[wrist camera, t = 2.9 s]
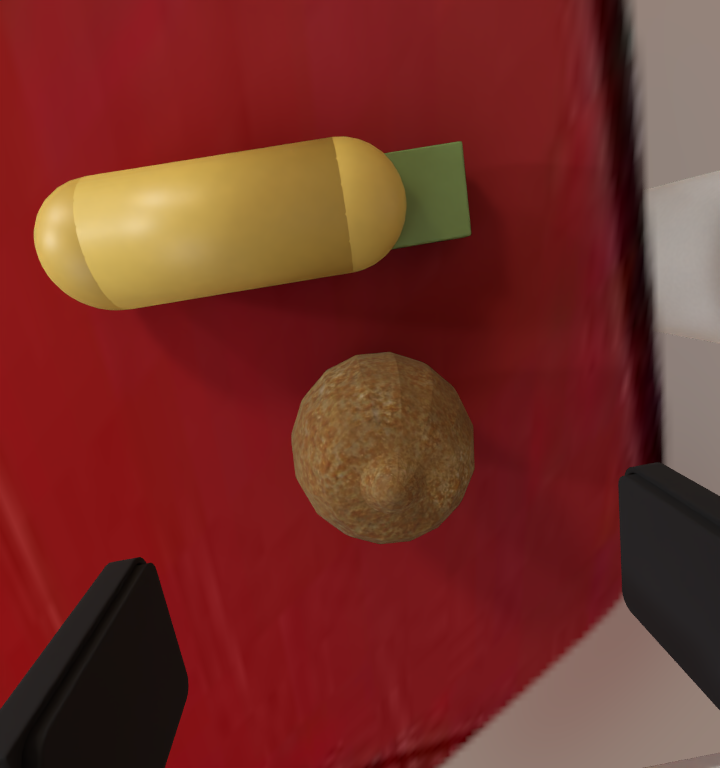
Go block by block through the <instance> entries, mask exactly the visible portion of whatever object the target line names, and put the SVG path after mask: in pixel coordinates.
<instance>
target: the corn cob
mask: <svg viewBox="0 0 720 768" xmlns="http://www.w3.org/2000/svg"><path fill="white" fill-rule="evenodd" d="M470 235H471V226H470V216H469V206H468V196H467V186H466V176H465V166H464V156H463V147H462V142H461V141H459V142H452V143H446V144H440V145H434V146H427V147H421V148H415V149H409V150H402V151H396V152H390V153H383V152H382V151H380V150H379V149H377V148H376V147H374V146H373V145H371V144H369V143H367V142H365V141H362V140H360V139H356V138H351V137H329V138H323V139H317V140H310V141H304V142H298V143H291V144H285V145H279V146H273V147H266V148H260V149H254V150H247V151H241V152H235V153H229V154H222V155H216V156H210V157H204V158H197V159H191V160H185V161H178V162H172V163H166V164H160V165H153V166H147V167H141V168H135V169H128V170H122V171H116V172H109V173H103V174H97V175H91V176H85V177H82V178H78V179H75V180H72V181H69V182H67V183H65V184H63V185H61V186H60V187H58V188H57V189H56V190H55V191H54V192H53V193H52V194H51V195H50V196H49V197H48V198H47V199H46V200H45V201H44V203H43V205H42V206H41V208H40V210H39V212H38V214H37V218H36V223H35V228H34V242H35V247H36V251H37V254H38V257H39V260H40V262H41V264H42V266H43V268H44V270H45V272H46V273H47V275H48V276H49V277H50V279H51V280H52V281H53V282H54V283H55V284H56V285H57V286H58V287H59V288H60V289H61V290H62V291H63V292H65V293H66V294H68V295H69V296H71V297H72V298H74V299H76V300H77V301H79V302H81V303H84V304H86V305H89V306H92V307H95V308H99V309H107V310H128V309H134V308H141V307H147V306H153V305H159V304H165V303H171V302H177V301H183V300H189V299H195V298H201V297H207V296H213V295H220V294H226V293H232V292H238V291H244V290H250V289H256V288H262V287H268V286H274V285H280V284H286V283H292V282H298V281H305V280H311V279H317V278H323V277H329V276H335V275H341V274H347V273H353V272H357V271H360V270H364V269H366V268H368V267H370V266H372V265H374V264H376V263H377V262H378V261H380V260H381V259H382V258H384V257H385V256H386V255H387V253H388V252H389V251H390V250H391V249H397V248H403V247H409V246H415V245H421V244H428V243H434V242H440V241H446V240H452V239H458V238H463V237H468V236H470Z"/></svg>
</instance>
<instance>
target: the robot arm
mask: <svg viewBox="0 0 720 768" xmlns="http://www.w3.org/2000/svg"><path fill="white" fill-rule="evenodd" d="M618 486H619V514H620V541H621V569H622V592H623V597H624V600H625V603H626V605H627V607H628V608H629V610H630V611H631V613H632V614H633V615H634V616H635V617H636V618H637V619H638V620H639V621H640V623H641V624H642V625H643V626H644V627H645V628H646V629H647V630H648V631H649V633H650V634H651V635H652V636H653V637H654V638H655V639H656V640H657V641H658V642H659V644H660V645H661V646H662V647H663V648H664V649H665V650H666V651H667V652H668V654H669V655H670V656H671V657H672V658H673V659H674V660H675V661H676V662H677V663H678V665H679V666H680V667H681V668H682V669H683V670H684V671H685V672H686V673H687V674H688V676H689V677H690V678H691V679H692V680H693V681H694V682H695V683H696V684H697V686H698V687H699V688H700V689H701V690H702V691H703V692H704V693H705V694H706V695H707V697H708V698H709V699H710V700H711V701H712V702H713V703H714V704H715V706H716V707H717V708H718V709H719V710H720V496H718V495H717V494H715V493H713V492H711V491H710V490H708V489H706V488H704V487H703V486H701V485H699V484H697V483H695V482H694V481H692V480H690V479H688V478H687V477H685V476H683V475H681V474H680V473H678V472H676V471H674V470H673V469H671V468H669V467H667V466H666V465H664V464H661V463H659V462H658V463H652V464H646V465H641V466H635V467H630V468H628V469H627V470H626V473H625V476H622V477H621V478H620V479H619V485H618ZM187 695H188V676H187V672H186V669H185V666H184V662H183V659H182V655H181V652H180V649H179V645H178V642H177V638H176V635H175V632H174V628H173V625H172V621H171V618H170V615H169V611H168V608H167V604H166V601H165V598H164V594H163V591H162V587H161V584H160V581H159V577H158V574H157V570H156V568H155V566H154V565H153V564H152V563H147V564H146V562H145V561H144V559H143V558H141V557H138V558H133V559H127V560H122V561H116V562H111V563H109V564H108V565H106V567H105V568H104V569H103V571H102V572H101V573H100V575H99V576H98V577H97V579H96V580H95V582H94V583H93V584H92V586H91V587H90V588H89V590H88V591H87V592H86V594H85V595H84V596H83V598H82V599H81V601H80V602H79V603H78V605H77V606H76V607H75V609H74V610H73V611H72V613H71V614H70V615H69V617H68V618H67V620H66V621H65V622H64V624H63V625H62V626H61V628H60V629H59V630H58V632H57V633H56V634H55V636H54V637H53V639H52V640H51V641H50V643H49V644H48V645H47V647H46V648H45V649H44V651H43V652H42V653H41V655H40V656H39V658H38V659H37V660H36V662H35V663H34V664H33V666H32V667H31V668H30V670H29V671H28V672H27V674H26V675H25V677H24V678H23V679H22V681H21V682H20V683H19V685H18V686H17V687H16V689H15V690H14V691H13V693H12V694H11V696H10V697H9V698H8V700H7V701H6V702H5V704H4V705H3V706H2V708H1V709H0V768H165V765H166V762H167V759H168V756H169V752H170V749H171V746H172V743H173V740H174V737H175V734H176V731H177V727H178V724H179V721H180V718H181V715H182V712H183V709H184V705H185V702H186V699H187ZM645 768H720V753H716V754H711V755H706V756H701V757H696V758H691V759H686V760H681V761H676V762H670V763H666V764H660V765H656V766H651V767H645Z"/></svg>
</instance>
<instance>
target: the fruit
mask: <svg viewBox="0 0 720 768" xmlns="http://www.w3.org/2000/svg"><path fill="white" fill-rule="evenodd" d="M292 450H293V458H294V466H295V474H296V478H297V480H298V482H299V484H300V485H301V487H302V489H303V490H304V492H305V494H306V495H307V497H308V499H309V500H310V502H311V504H312V505H313V507H314V509H315V510H316V512H317V514H318V515H320V516H321V517H322V518H324V519H325V520H326V521H328V522H329V523H331V524H332V525H333V526H335V527H336V528H337V529H339V530H340V531H342V532H343V533H344V534H346V535H348V536H350V537H354V538H358V539H362V540H366V541H370V542H374V543H377V544H386V543H395V542H405V541H411V540H413V539H415V538H417V537H419V536H421V535H423V534H425V533H427V532H429V531H431V530H434V529H436V528H438V527H439V526H440V525H441V523H442V522H443V521H444V520H445V519H446V518H447V517H448V516H449V515H450V514H451V513H452V512H453V511H454V510H455V509H456V508H457V506H458V505H459V504H460V502H461V501H462V499H463V496H464V494H465V491H466V489H467V486H468V484H469V481H470V479H471V476H472V474H473V471H474V438H473V425H472V423H471V420H470V418H469V416H468V414H467V412H466V410H465V408H464V406H463V404H462V402H461V400H460V398H459V396H458V394H457V392H456V390H455V389H454V387H453V386H452V385H451V384H449V383H448V382H447V381H446V380H445V379H444V378H442V377H441V376H440V375H439V374H438V373H437V372H435V371H434V370H433V369H432V368H431V367H429V366H428V365H427V364H425V363H423V362H420V361H417V360H414V359H411V358H408V357H404V356H401V355H398V354H395V353H391V352H384V353H373V354H362V355H355V356H353V357H351V358H350V359H348V360H346V361H344V362H342V363H340V364H338V365H336V366H334V367H332V368H330V369H328V370H326V371H325V373H324V374H323V375H322V376H321V377H320V379H319V380H318V381H317V382H316V383H315V385H314V386H313V387H312V388H311V389H310V390H309V392H308V393H307V394H306V395H305V397H304V398H303V400H302V401H301V405H300V408H299V411H298V415H297V418H296V421H295V424H294V428H293V431H292Z"/></svg>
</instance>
